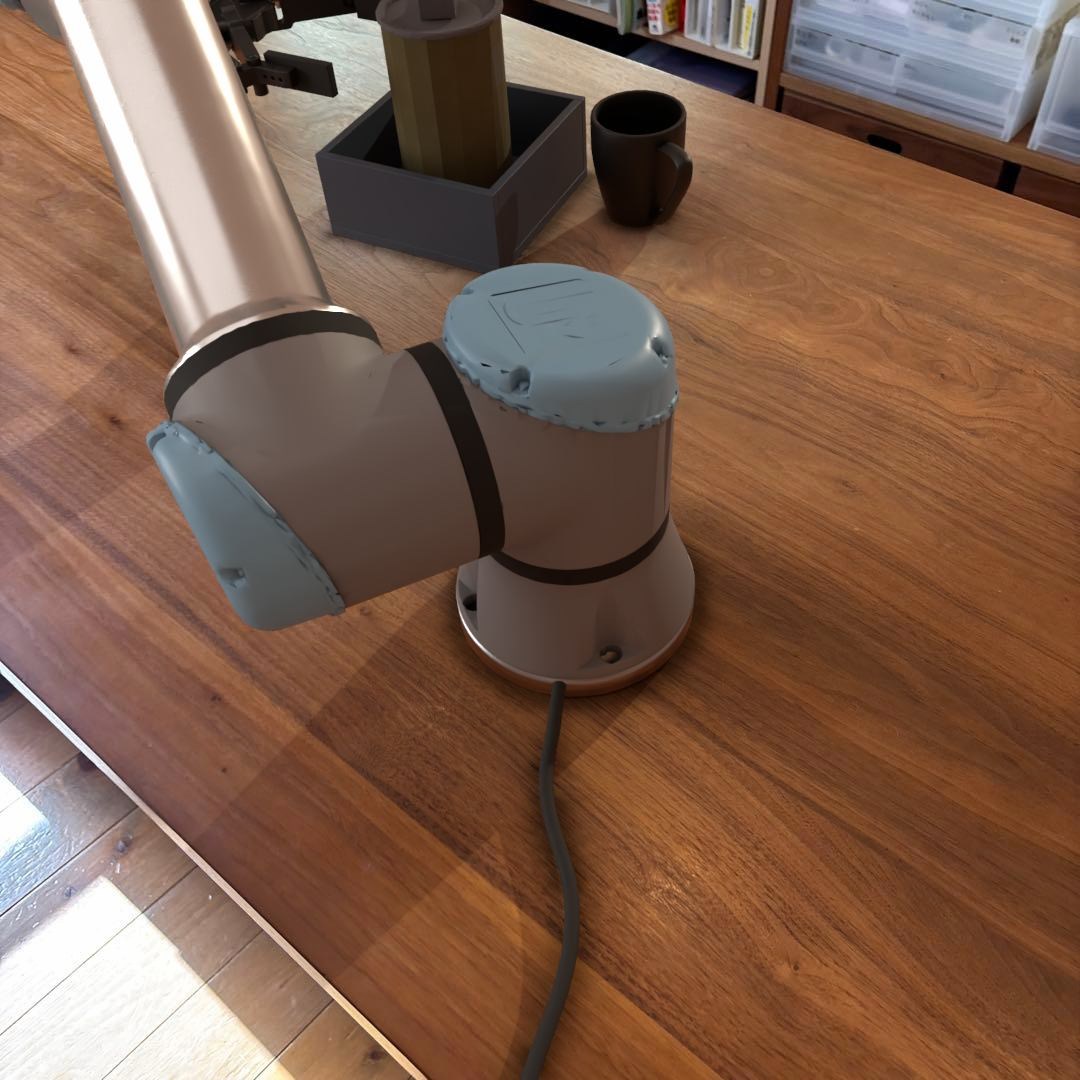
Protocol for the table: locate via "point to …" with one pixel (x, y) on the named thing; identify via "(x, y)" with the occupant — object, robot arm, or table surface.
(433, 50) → the canister
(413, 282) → the table surface
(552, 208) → the basket
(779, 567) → the table surface
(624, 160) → the mug
